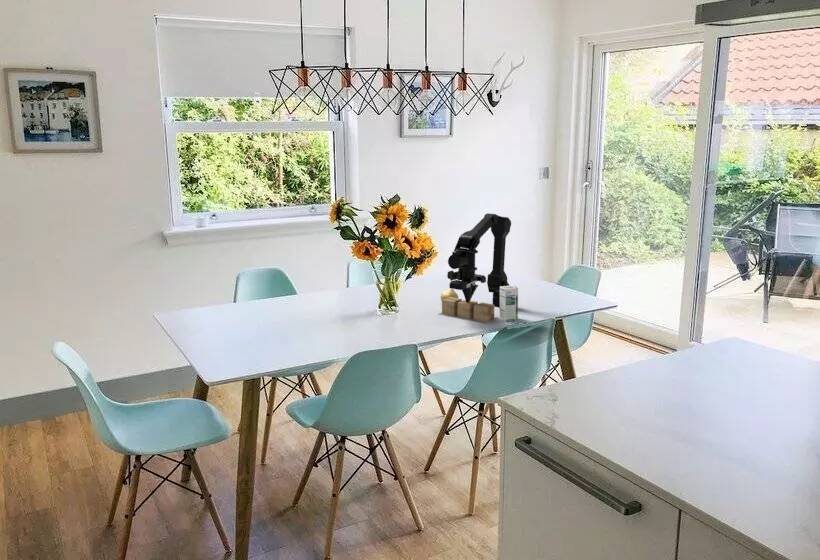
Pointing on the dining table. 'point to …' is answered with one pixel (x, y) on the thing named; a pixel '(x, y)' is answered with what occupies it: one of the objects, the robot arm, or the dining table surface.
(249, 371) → the dining table surface
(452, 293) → the onion
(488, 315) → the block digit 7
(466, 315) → the block plain
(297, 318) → the dining table surface
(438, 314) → the mat
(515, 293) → the syrup box
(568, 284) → the dining table surface
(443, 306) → the tan cube
